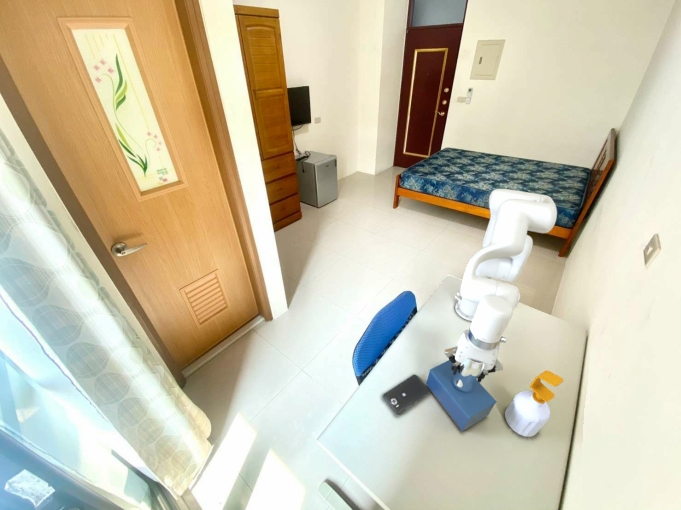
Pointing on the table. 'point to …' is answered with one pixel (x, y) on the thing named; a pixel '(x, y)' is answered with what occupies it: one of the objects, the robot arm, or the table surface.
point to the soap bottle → (532, 406)
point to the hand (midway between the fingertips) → (466, 374)
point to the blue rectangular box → (459, 397)
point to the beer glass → (467, 374)
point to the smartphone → (406, 394)
